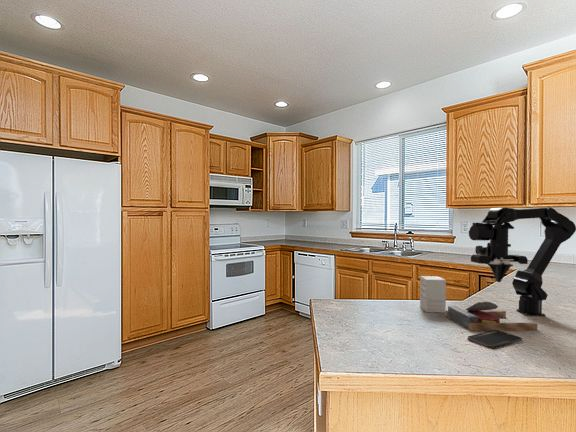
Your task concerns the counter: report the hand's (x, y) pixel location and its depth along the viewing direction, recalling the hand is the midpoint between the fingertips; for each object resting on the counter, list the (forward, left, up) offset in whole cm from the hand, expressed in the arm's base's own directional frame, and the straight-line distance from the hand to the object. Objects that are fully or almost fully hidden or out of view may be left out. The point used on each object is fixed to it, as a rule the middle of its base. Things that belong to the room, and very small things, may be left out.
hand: (498, 281), depth 119 cm
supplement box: (+23, -5, -12) cm, 27 cm away
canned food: (+13, +10, -12) cm, 21 cm away
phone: (+20, +25, -13) cm, 34 cm away
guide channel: (+11, +10, -12) cm, 19 cm away
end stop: (+20, +10, -12) cm, 26 cm away
